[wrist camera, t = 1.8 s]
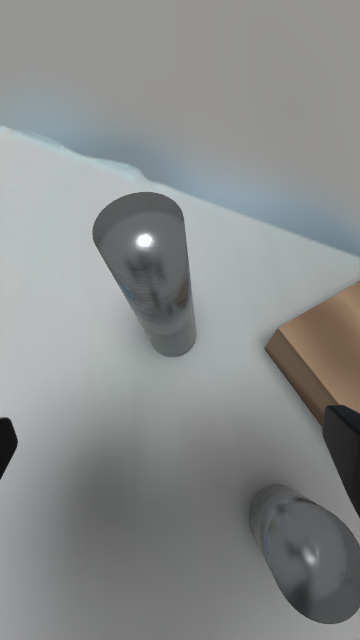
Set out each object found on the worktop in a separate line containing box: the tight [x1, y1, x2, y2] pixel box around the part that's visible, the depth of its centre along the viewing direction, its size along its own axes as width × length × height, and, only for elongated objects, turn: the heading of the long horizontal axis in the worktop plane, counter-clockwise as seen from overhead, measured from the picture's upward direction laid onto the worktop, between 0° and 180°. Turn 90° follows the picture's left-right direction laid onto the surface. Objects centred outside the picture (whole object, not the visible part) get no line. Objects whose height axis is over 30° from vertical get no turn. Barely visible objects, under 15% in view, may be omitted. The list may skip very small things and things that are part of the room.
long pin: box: [93, 192, 196, 357], centre depth 17 cm, size 4×4×13 cm
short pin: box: [250, 485, 360, 624], centre depth 14 cm, size 4×4×6 cm
